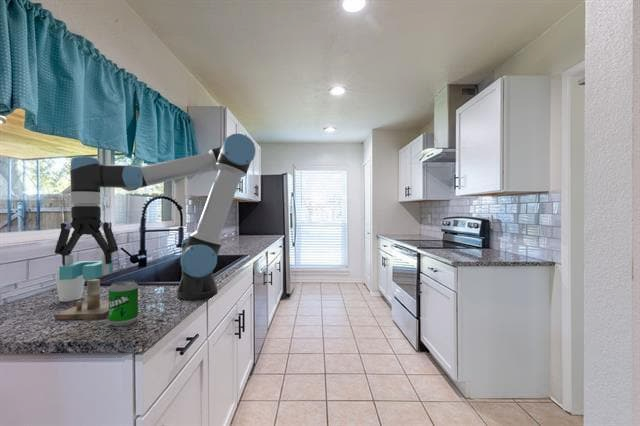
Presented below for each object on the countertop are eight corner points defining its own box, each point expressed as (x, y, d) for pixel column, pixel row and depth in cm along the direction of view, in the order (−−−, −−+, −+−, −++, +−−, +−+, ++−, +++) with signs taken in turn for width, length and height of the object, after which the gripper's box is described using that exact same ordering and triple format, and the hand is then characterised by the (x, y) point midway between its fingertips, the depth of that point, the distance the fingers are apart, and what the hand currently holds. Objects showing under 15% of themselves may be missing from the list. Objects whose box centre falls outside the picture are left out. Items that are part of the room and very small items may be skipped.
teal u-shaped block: (80, 273, 103) (80, 261, 103) (112, 272, 104) (112, 260, 104) (59, 279, 93) (59, 266, 93) (95, 278, 94) (94, 265, 94)
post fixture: (126, 304, 110) (126, 275, 110) (102, 318, 96) (102, 285, 96) (85, 305, 109) (85, 276, 109) (54, 319, 95) (55, 285, 95)
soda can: (126, 317, 98) (126, 279, 98) (143, 320, 95) (143, 281, 95) (102, 325, 91) (102, 284, 91) (120, 328, 88) (120, 286, 88)
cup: (54, 298, 118) (55, 267, 118) (84, 294, 124) (84, 264, 124) (55, 304, 111) (55, 271, 111) (86, 299, 117) (86, 268, 117)
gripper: (129, 205, 104) (130, 271, 104) (56, 206, 101) (57, 273, 101) (117, 205, 96) (119, 275, 96) (38, 205, 93) (39, 278, 94)
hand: (87, 274), depth 99 cm, fingers closed on teal u-shaped block, 10 cm apart
